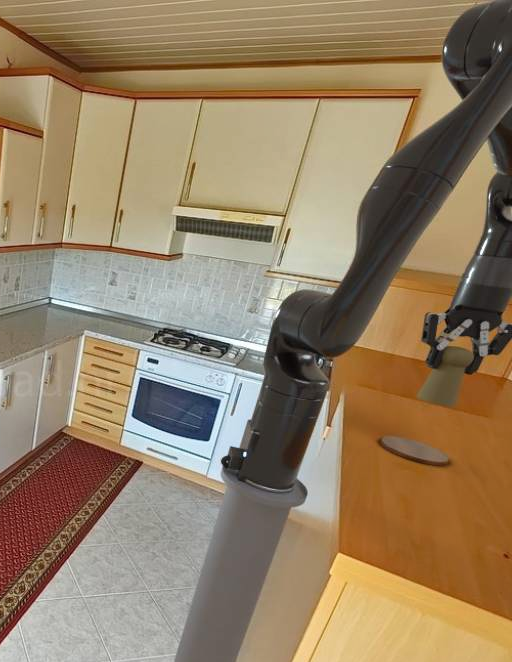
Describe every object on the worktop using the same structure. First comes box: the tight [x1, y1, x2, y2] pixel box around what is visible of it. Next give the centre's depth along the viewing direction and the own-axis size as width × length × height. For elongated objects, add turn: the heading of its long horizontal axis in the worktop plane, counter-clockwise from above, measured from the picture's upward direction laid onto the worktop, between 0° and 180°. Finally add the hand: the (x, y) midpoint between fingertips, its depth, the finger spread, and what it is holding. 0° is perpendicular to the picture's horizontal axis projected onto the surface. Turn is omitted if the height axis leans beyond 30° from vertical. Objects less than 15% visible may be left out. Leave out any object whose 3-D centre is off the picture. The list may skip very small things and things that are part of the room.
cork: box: [416, 345, 474, 408], centre depth 95 cm, size 6×6×11 cm
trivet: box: [380, 435, 450, 466], centre depth 100 cm, size 11×11×1 cm
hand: (449, 370), depth 94 cm, fingers closed on cork, 5 cm apart
